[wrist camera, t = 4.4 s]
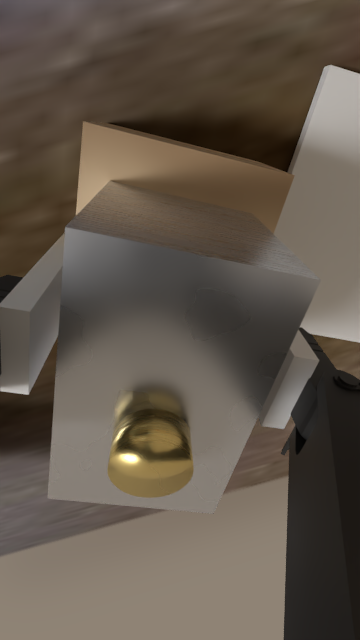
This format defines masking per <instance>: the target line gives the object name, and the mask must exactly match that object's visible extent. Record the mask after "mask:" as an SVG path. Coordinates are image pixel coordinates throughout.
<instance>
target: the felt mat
mask: <svg viewBox="0 0 360 640" xmlns="http://www.w3.org/2000/svg"><path fill="white" fill-rule="evenodd" d="M287 173H290V174H293V175H295V176H294V179H293V182H292V184H291V187H290V190H289V193H288V195H287V198H286V201H285V204H284V206H283V209H282V212H281V215H280V217H279V220H278V223H277V226H276V228H275V231H274V235H275V236H276V237H277V238H278V239H279V240H280V241H281V242H282V243H283V244H284V245H285V246H286V247H288V248H289V249H290V250H291V251H292V252H293V253H294V254H295V255H296V256H297V257H298V258H299V259H300V260H301V261H302V262H303V263H304V264H305V265H306V266H307V267H308V268H309V269H310V270H311V271H312V272H313V273H314V274H315V275H316V276H317V277H318V278H320V279H321V281H320V284H319V286H318V288H317V290H316V292H315V294H314V297H313V299H312V301H311V303H310V305H309V307H308V310H307V312H306V314H305V316H304V318H303V321H302V323H301V325H300V327H301V328H303V329H305V330H306V331H307V332H308V333H310V334H315V335H321V336H326V337H332V338H338V339H343V340H349V341H354V342H360V74H358V73H355V72H352V71H349V70H346V69H342V68H339V67H336V66H333V65H329V66H326V67H324V69H323V72H322V75H321V78H320V81H319V84H318V86H317V89H316V92H315V95H314V98H313V101H312V104H311V106H310V109H309V112H308V115H307V118H306V121H305V123H304V126H303V129H302V132H301V135H300V138H299V141H298V143H297V146H296V149H295V152H294V155H293V158H292V161H291V163H290V166H289V169H288V172H287Z"/></svg>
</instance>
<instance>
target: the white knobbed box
mask: <svg viewBox="0 0 360 640" xmlns="http://www.w3.org/2000/svg"><path fill="white" fill-rule="evenodd" d="M320 281H321V279H320V278H318V277H317V276H316V275H315V274H314V273H313V272H312V271H311V270H310V269H309V268H308V267H307V266H306V265H305V264H304V263H303V262H302V261H301V260H300V259H299V258H298V257H297V256H296V255H295V254H294V253H293V252H292V251H291V250H290V249H289V248H288V247H286V246H285V245H284V244H283V243H282V242H281V241H280V240H279V239H278V238H277V237H276V236H275V235H274V234H273V233H272V232H271V231H270V230H269V229H268V228H267V227H266V226H265V225H264V224H263V223H262V222H261V221H260V220H259V219H258V218H257V217H256V216H255V215H253V214H252V213H249V212H244V211H240V210H236V209H231V208H227V207H223V206H218V205H214V204H210V203H205V202H201V201H197V200H192V199H188V198H184V197H179V196H175V195H171V194H166V193H162V192H158V191H154V190H149V189H145V188H141V187H136V186H132V185H128V184H123V183H119V182H115V181H109V182H108V183H107V184H106V185H105V186H104V187H103V188H102V189H101V190H100V191H99V192H98V193H97V194H96V195H95V197H94V198H93V199H92V200H91V201H90V202H89V203H88V204H87V205H86V206H85V207H84V208H83V209H82V210H81V211H80V212H79V213H78V214H77V215H76V216H75V217H74V218H73V219H72V220H71V222H70V223H69V224H68V225H67V226H66V227H65V239H64V254H63V269H62V285H61V300H60V316H59V331H58V347H57V362H56V378H55V393H54V409H53V424H52V439H51V455H50V470H49V486H48V499H59V500H70V501H81V502H92V503H102V504H113V505H124V506H135V507H146V508H157V509H168V510H180V511H192V512H201V513H214V512H215V509H216V507H217V505H218V503H219V501H220V499H221V496H222V494H223V492H224V490H225V488H226V486H227V483H228V481H229V479H230V477H231V475H232V472H233V470H234V468H235V466H236V464H237V462H238V459H239V457H240V455H241V453H242V451H243V449H244V446H245V444H246V442H247V440H248V438H249V436H250V433H251V431H252V429H253V427H254V425H255V423H256V420H257V418H258V416H259V414H260V412H261V410H262V407H263V405H264V403H265V401H266V399H267V396H268V394H269V392H270V390H271V388H272V386H273V383H274V381H275V379H276V377H277V375H278V373H279V370H280V368H281V366H282V364H283V362H284V360H285V357H286V355H287V353H288V351H289V349H290V347H291V344H292V342H293V340H294V338H295V336H296V334H297V331H298V329H299V327H300V325H301V323H302V321H303V318H304V316H305V314H306V312H307V310H308V307H309V305H310V303H311V301H312V299H313V297H314V294H315V292H316V290H317V288H318V286H319V284H320Z"/></svg>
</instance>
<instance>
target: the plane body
mask: <svg viewBox="0 0 360 640" xmlns="http://www.w3.org/2000/svg"><path fill="white" fill-rule="evenodd" d="M294 176H295V175H293V174H290V173H287V172H285V171H282V170H279V169H277V168H274V167H271V166H268V165H266V164H263V163H260V162H257V161H254V160H250V159H246V158H242V157H238V156H234V155H230V154H226V153H222V152H218V151H214V150H211V149H207V148H203V147H199V146H195V145H191V144H187V143H183V142H179V141H175V140H172V139H168V138H164V137H160V136H156V135H152V134H148V133H144V132H140V131H136V130H132V129H129V128H125V127H121V126H117V125H113V124H109V123H101V122H83V132H82V144H81V157H80V170H79V183H78V195H77V208H76V215H77V214H78V213H79V212H80V211H81V210H82V209H83V208H84V207H85V206H86V205H87V204H88V203H89V202H90V201H91V200H92V199H93V198H94V197H95V195H96V194H97V193H98V192H99V191H100V190H101V189H102V188H103V187H104V186H105V185H106V184H107V183H108V182H109V181H115V182H119V183H123V184H128V185H132V186H136V187H141V188H145V189H149V190H154V191H158V192H162V193H166V194H171V195H175V196H179V197H184V198H188V199H192V200H197V201H201V202H205V203H210V204H214V205H218V206H223V207H227V208H231V209H236V210H240V211H244V212H249V213H252V214H253V215H255V216H256V217H257V218H258V219H259V220H260V221H261V222H262V223H263V224H264V225H265V226H266V227H267V228H268V229H269V230H270V231H271V232H272V233H273V234H274V231H275V228H276V226H277V223H278V220H279V217H280V215H281V212H282V209H283V206H284V204H285V201H286V198H287V195H288V193H289V190H290V187H291V184H292V182H293V179H294Z"/></svg>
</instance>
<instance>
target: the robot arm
mask: <svg viewBox="0 0 360 640" xmlns="http://www.w3.org/2000/svg"><path fill="white" fill-rule="evenodd" d="M64 239H65V233H64V234H63V235H62V236H61V237H60V238H59V239H58V240H57V242H56V243H55V244H54V245H53V246H52V247H51V248H50V249H49V250H48V251H47V252H46V254H45V255H44V256H43V257H42V258H41V259H40V260H39V261H38V262H37V263H36V265H35V266H34V267H33V268H32V269H31V270H30V271H29V272H28V273H27V274H26V275H25V277H24V278H22V277H16V276H11V275H6V276H3V277H0V391H4V392H12V393H19V394H27V395H29V393H30V391H31V389H32V387H33V385H34V383H35V381H36V379H37V377H38V375H39V373H40V371H41V369H42V367H43V365H44V363H45V361H46V359H47V357H48V354H49V352H50V350H51V348H52V346H53V344H54V342H55V340H56V338H57V336H58V331H59V316H60V300H61V285H62V269H63V254H64ZM290 416H292V418H293V420H294V422H295V427H294V429H293V431H292V433H291V434H290V436H289V438H288V440H287V442H286V444H285V445H284V447H283V449H282V452H281V454H282V455H285V453H286V451H287V450H289V449H290V450H289V484H288V516H287V517H288V518H287V551H286V582H285V617H284V640H360V380H359V379H357V378H356V377H354V376H353V375H351V374H348V373H346V372H344V371H340V370H337V369H336V368H335V367H334V365H333V364H332V363H331V361H330V360H329V358H328V357H327V356H326V354H325V353H324V352H323V350H322V349H321V347H320V346H318V343H317V342H316V340H315V339H314V337H313V336H312V335H311V334H309V333H308V332H307V331H306V330H305V329H303V328H301V327H299V329H298V331H297V334H296V336H295V338H294V340H293V342H292V344H291V347H290V349H289V351H288V353H287V355H286V357H285V360H284V362H283V364H282V366H281V368H280V370H279V373H278V375H277V377H276V379H275V381H274V383H273V386H272V388H271V390H270V392H269V394H268V396H267V399H266V401H265V403H264V405H263V407H262V410H261V412H260V414H259V416H258V417H259V420H260V423H261V426H265V427H273V428H280V429H284V427H285V426H286V424H287V422H288V420H289V418H290Z"/></svg>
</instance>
